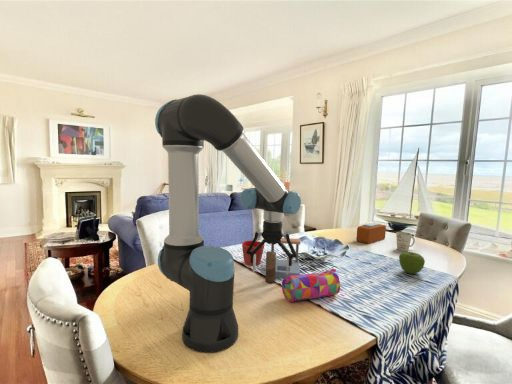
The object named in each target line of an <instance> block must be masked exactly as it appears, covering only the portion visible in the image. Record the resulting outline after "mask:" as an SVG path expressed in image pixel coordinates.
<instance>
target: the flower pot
mask: <svg viewBox="0 0 512 384" xmlns="http://www.w3.org/2000/svg"><path fill="white" fill-rule="evenodd" d="M252 241H253V240H245V241H243V242H242V243H241V248H242V256H243V261H244V264H245V265H247V266H250V267H251V266H252V267H253V263H251V255H250V254H247V253H246V252H247V250H248V248H249V246H250V244H251V243H252ZM260 243H261V241H259V240H256V242H255V243H254V245H253V247H252V249H251V251H253V250H254V249H255V248H256V247H257V246H258V245H259V244H260ZM264 248H265V244H264V245H263V246H262V247H261V248H260V249H259V250H258V251H257V252H256V253H255V254H256V266H259V265H260V264H261V262H262V258H263V253H264V250H265V249H264Z"/></svg>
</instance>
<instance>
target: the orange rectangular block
mask: <svg viewBox="0 0 512 384" xmlns="http://www.w3.org/2000/svg"><path fill="white" fill-rule="evenodd" d="M386 231H387V226H386V224H381V223H379V222H373V221H372V222H369V223H364V224H362V225H359V226H358V227H357V228H356V242H359V243H362V244H363V243H364V244H367V245H370V244H375V243H377V242H380V241H385V239H386V233H387V232H386Z"/></svg>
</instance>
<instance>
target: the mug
mask: <svg viewBox="0 0 512 384" xmlns="http://www.w3.org/2000/svg"><path fill="white" fill-rule="evenodd" d="M395 234H396V249H397V250H399V251H403V252H409V249H410V248H411V247H413V246H414V244H416V238H415V237H414V236H413V235H412V233H410V232H405V231H396V233H395ZM411 241H412V242H411ZM410 244H411V245H410Z"/></svg>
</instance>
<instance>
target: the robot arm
mask: <svg viewBox="0 0 512 384" xmlns="http://www.w3.org/2000/svg"><path fill="white" fill-rule="evenodd" d="M154 123H155V129H156V131H157V133H158V134H159V136H160V138H161V142H162V146H161V147H162V148H163V149H164V150H165V151H166V152H167V154H168V155H167V156H168V157H167V160H168V161H167V163H168V164H167V166H168V167H167V168H168V174H167V175H168V227H169V228H168V229H169V231H168V232H169V233H168V235H167V236H166V237H165V238H164V239H163V246H162V248H161V249H160V250H159V253H158V254H157V266H158V269H159V271H160V272H161V274H162V275H163V276H164V277H165V278H166V279H168V280H170V281H171V282H174V283H176V284H178V285H179V286H180V287H182V288H184V289H186V290H187V291H189V309H188V312H187V315H186V318H185V321H184V323H183V326H182V335H181V336H182V337H181V339H182V342H183V344H184V345H185V346H186V347H187V348H188V349H190V350H192V351H195V352H199V353H205V354H206V353H208V354H209V353H216V352H220V351H224V350H227V349H228V348H230V347H231V346H233V345H234V344H235V343H236V342H237V340H238V338H239V323H238V321H237V320H238V319H237V318H236V317H237V316H236V314H235V310H234V307H233V306H234V288H235V287H234V285H235V282H234V281H235V271H236V270H235V259H234V256H233V254H232V253H231V252H230V251H228V250H227V249H225V248H222V247H220V246H213V245H204V244H205V243H204V242H205V241H204V240H205V238H204V237H203V235H202V234H200V231H199V229H200V228H199V227H200V224H199V223H200V222H199V221H200V219H199V215H200V214H199V211H200V210H199V206H200V205H199V197H200V196H199V195H200V194H199V191H200V190H199V187H200V186H199V174H200V173H199V154H200V153H201V151H203V149H204V147H205V146H204V145H205V144H204V143H205V142H207V143H208V144H211V146H212V147H213V148H214V149H215V150H216V151H219V152H223V153H224V155H225V156H227V158H228V159H229V160H230V161H231V162H232V163H233V164H234V166H235V167H236V168H237V169H238V170H239V171H240V172H241V173H242V174H243V176H244V177H246V179H247V181H249V183H250V184H251V185H252V186H253V187H250V188H245V189H244V190H242V192H241V193H240V197H239V199H240V200H239V201H240V204H241V206H242V207H243V208H244V209H246V210H254V209H255V210H256V209H258V210H263V221H262V224H263V225H262V232H261V231H257V230H256V231H255V232H254V238H253V239H252V240H251V241H252V243H251V244H250V246H249V248H248V250H247V252H246V253H247V254H250V255H251V263H253V266H252V272H253V273H255V271H256V267H257V265H256V254H255V253H256V252H257V251H258V250H259V249H260V248H261V247H262V246H263V245H264V246H265V243H266V244H268V245H271V244H274V245H278V246H279V247H280V248H281V250H282V251H283V253H285V255H286V256H287V258H286V260H287V272H286V275H288V270H289V266H291V265H292V261H293V258H295V257H297V254H296V248H294V244H292V243H291V241H290V239H291V238H290V233H289V232H286V233H283V232H282V229H283V228H282V227H283V222H282V221H283V214H284V215H296V214H297V213H298V212H299V210H300V208H301V205H302V199H301V195H300V194H299V193H297V192H295V191H293V190H288V189H287V187H286V186H285V185H284V183H283V182H282V181H281V180H280V179H279V177H278V176H277V174H276V173H275V172H274V171H273V170H272V168H271V167H270V166H269V164H268V163H267V162H266V160H265V159H264V158H263V156H262V155H261V154H260V153H259V152H258V150H257V149H256V147H255V146H254V145H253V144H252V143H251V141H250V140H249V139H248V137H247V136H246V135H245V132H244V129H245V128H244V125H242V123H241V122H240V121H239V120H238V118H237V117H236V116H235V115H234V114H233V113H232V112H231V111H230V110H229V109H228V108H227V107H226V106H224V105H223V104H222V103H221V102H220V101H219V100H217V99H215V98H213V97H211V96H209V95H205V94H193V95H189V96H187V97H182V98H179V99H176V98H175V99H172V100H170V101H168V102H166V103H164V104H163V105H162V106H161V107H159V109H158V111H157V113H156V115H155V119H154ZM204 141H205V142H204ZM260 237H262V238H263V239H262V241H260V242H261V243H260V244H259V245H258V246H257V247H256V248H255V249H254V250H253V251H251V249H252V247H253V245H254V243H255V242H256V241H258V240H257V239H258V238H260ZM281 238H284V239H286V240H287V243H288V244H287V245H288V247H289V248H287V246H286V245H285V243H282V241H281V240H280V239H281ZM289 249H290V250H289ZM290 251H291V252H290Z"/></svg>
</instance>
